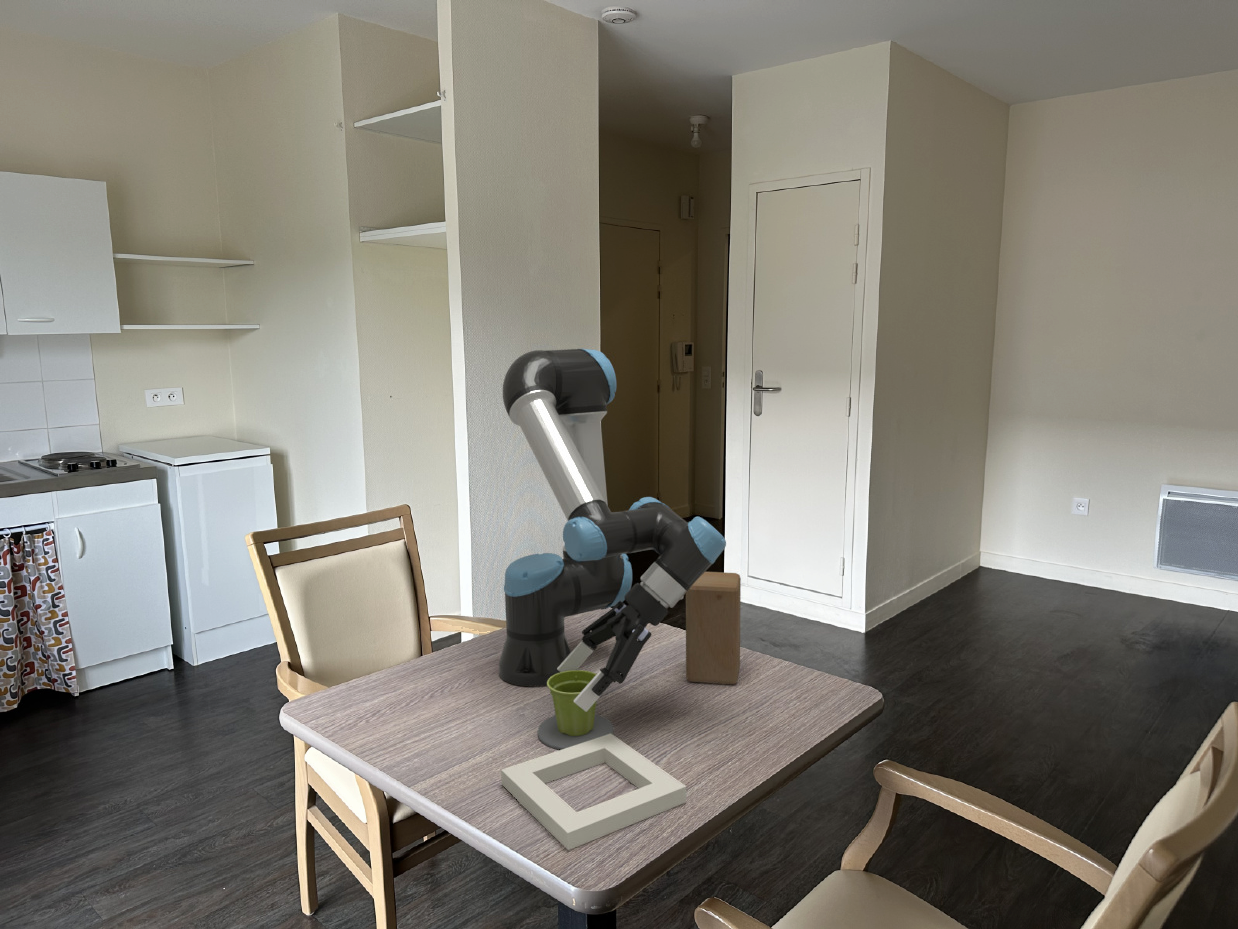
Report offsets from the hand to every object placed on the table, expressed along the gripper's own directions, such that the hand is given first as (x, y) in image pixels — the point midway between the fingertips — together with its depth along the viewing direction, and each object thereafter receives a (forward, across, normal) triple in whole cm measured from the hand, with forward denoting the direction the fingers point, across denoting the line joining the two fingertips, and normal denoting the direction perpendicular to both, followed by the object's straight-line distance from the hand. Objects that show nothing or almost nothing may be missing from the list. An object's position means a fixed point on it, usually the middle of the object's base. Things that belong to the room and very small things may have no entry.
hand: (570, 689), depth 143 cm
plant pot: (+5, 0, -6) cm, 8 cm away
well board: (+6, -19, -5) cm, 21 cm away
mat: (+5, 0, -6) cm, 8 cm away
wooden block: (-17, +16, -29) cm, 37 cm away
